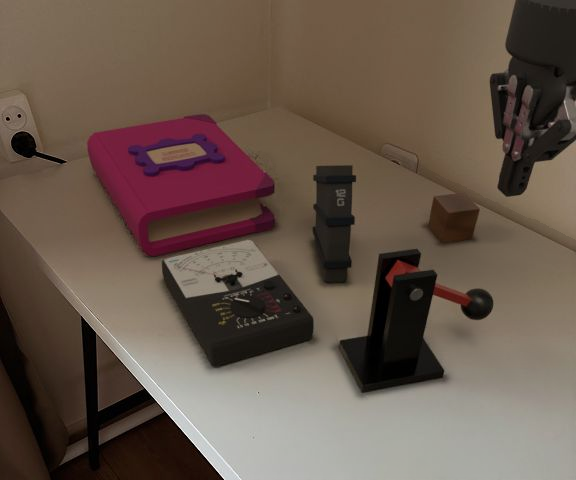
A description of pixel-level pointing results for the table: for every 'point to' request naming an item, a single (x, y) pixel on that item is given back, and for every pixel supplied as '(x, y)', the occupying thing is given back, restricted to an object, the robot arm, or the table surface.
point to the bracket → (395, 329)
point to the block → (453, 217)
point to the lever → (453, 294)
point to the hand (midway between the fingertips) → (509, 192)
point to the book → (181, 183)
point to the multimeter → (236, 302)
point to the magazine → (333, 220)
